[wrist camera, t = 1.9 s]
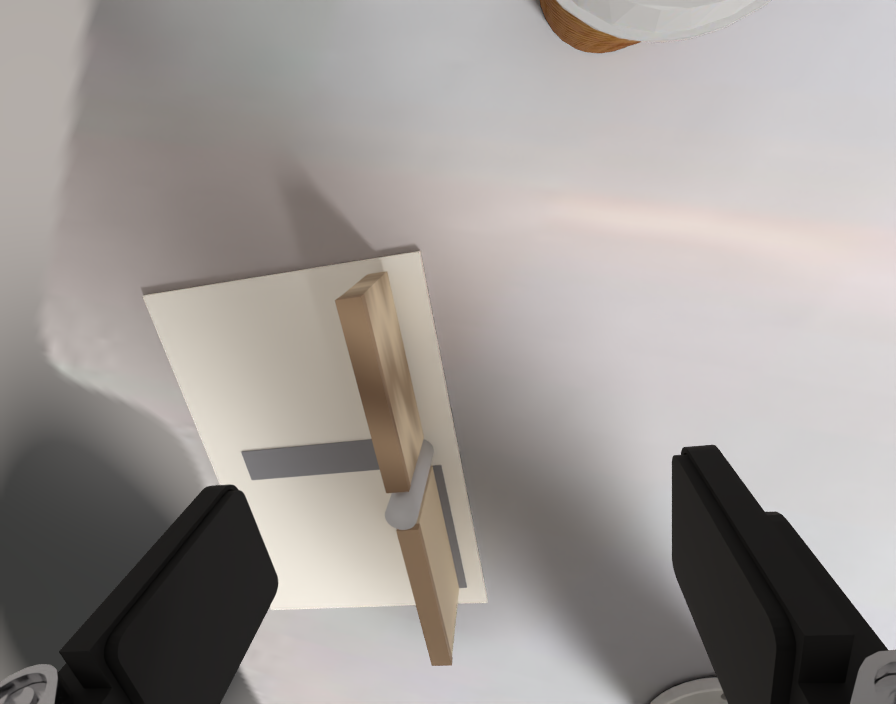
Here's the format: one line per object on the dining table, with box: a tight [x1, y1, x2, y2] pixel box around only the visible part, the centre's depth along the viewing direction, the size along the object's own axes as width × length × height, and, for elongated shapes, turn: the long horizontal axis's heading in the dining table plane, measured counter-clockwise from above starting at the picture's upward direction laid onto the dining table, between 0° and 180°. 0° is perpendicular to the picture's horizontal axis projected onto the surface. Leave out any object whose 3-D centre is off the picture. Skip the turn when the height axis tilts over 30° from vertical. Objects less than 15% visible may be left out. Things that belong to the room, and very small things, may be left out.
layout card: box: [142, 251, 488, 666], centre depth 30 cm, size 27×18×7 cm, turn 10°
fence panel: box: [335, 271, 424, 493], centre depth 27 cm, size 11×1×6 cm, turn 10°
